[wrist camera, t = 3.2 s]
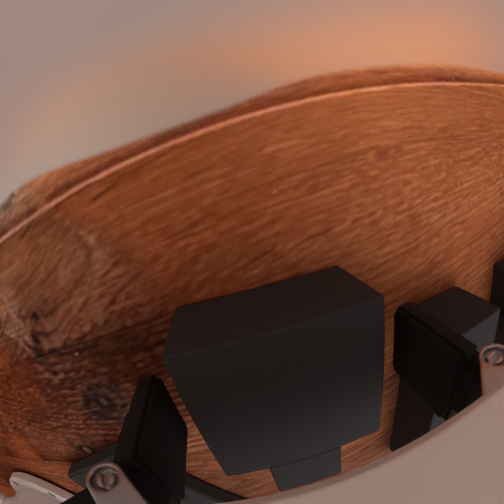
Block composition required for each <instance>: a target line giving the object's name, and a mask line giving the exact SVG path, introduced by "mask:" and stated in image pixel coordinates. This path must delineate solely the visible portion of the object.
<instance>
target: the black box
mask: <svg viewBox="0 0 504 504" xmlns="http://www.w3.org/2000/svg"><path fill="white" fill-rule="evenodd" d="M417 306H418V307H420V308H421V309H423V310H425V311H426V312H428V313H429V314H431V315H432V316H434V317H435V318H437V319H438V320H440V321H441V322H443V323H444V324H446V325H447V326H449V327H450V328H452V329H453V330H455V331H456V332H458V333H459V334H461V335H462V336H464V337H465V338H467V339H468V340H470V341H471V342H472V343H474V344H475V345H477V349H476V350H477V351H478V352H480V350H481V349H482V348H483V347H484V346H486V345H488V344H493V343H494V344H501V345H504V259H503V260H502V261H500V262H498V263H497V264H495V266H494V279H493V289H492V297H491V303H490V302H488V301H486V300H484V299H482V298H480V297H477V296H475V295H473V294H471V293H469V292H467V291H465V290H463V289H461V288H459V287H457V286H455V287H453V288H451V289H449V290H447V291H445V292H443V293H441V294H439V295H437V296H435V297H433V298H431V299H429V300H427V301H424V302H422V303H420V304H418V305H417ZM444 422H445V420H444V419H443V417H441V418H440V417H438V416H437V415H436V414H435V413H434V412H433V411H432V410H431V409H430V408H429V406H428V405H427V404H426V403H425V402H424V401H423V400H422V399H421V398H420V397H419V396H418V394H417V393H416V392H415V391H414V390H413V389H412V388H411V387H410V386H409V385H408V384H407V383H406V381H405V380H404V379H403V378H402V377H400V386H399V394H398V402H397V409H396V415H395V421H394V427H393V432H392V437H391V442H390V449H391V450H392V452H393V451H395V450H397V449H399V448H401V447H403V446H405V445H407V444H409V443H411V442H412V441H414V440H416V439H418V438H419V437H421V436H423V435H425V434H426V433H428V432H430V431H431V430H433V429H435V428H436V427H438V426H439V425H441V424H442V423H444Z"/></svg>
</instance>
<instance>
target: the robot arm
mask: <svg viewBox="0 0 504 504" xmlns="http://www.w3.org/2000/svg"><path fill="white" fill-rule="evenodd" d="M476 349H477V345H475V344H474V343H472V342H471V341H470V340H468V339H467V338H465V337H464V336H462V335H461V334H459V333H458V332H456V331H455V330H453V329H452V328H450V327H449V326H447V325H446V324H444V323H443V322H441V321H440V320H438V319H437V318H435V317H434V316H432V315H431V314H429V313H428V312H426V311H425V310H423V309H421V308H420V307H418V306H417V305H415V304H414V303H412V302H409V303H406V304H404V305H402V306H399V307H398V309H397V311H396V312H395V315H394V353H393V366H394V369H395V371H396V372H397V373H398V374H399V375H400V376H401V377H402V378H403V379H404V380H405V381H406V383H407V384H408V385H409V386H410V387H411V388H412V389H413V390H414V391H415V392H416V393H417V394H418V396H419V397H420V398H421V399H422V400H423V401H424V402H425V403H426V404H427V405H428V406H429V408H430V409H431V410H432V411H433V412H434V413H435V414H436V415H437V416H438V417H440V418H441V417H443V419H444V420H445V422H444V423H442V424H441V425H439V426H438V427H436V428H435V429H433V430H431V431H430V432H428V433H426V434H425V435H423V436H421V437H419V438H418V439H416V440H414V441H412V442H411V443H409V444H407V445H405V446H403V447H401V448H399V449H397V450H395V451H393V452H391V453H389V454H387V455H385V456H383V457H381V458H379V459H376V460H374V461H372V462H370V463H367V464H365V465H363V466H360V467H358V468H356V469H353V470H350V471H348V472H345V473H343V474H340V475H337V476H334V477H332V478H329V479H326V480H323V481H320V482H316V483H313V484H310V485H306V486H303V487H299V488H296V489H292V490H288V491H284V492H280V493H276V494H271V495H267V496H262V497H256V498H251V499H245V500H239V501H232V502H224V503H216V504H504V345H501V344H494V343H493V344H488V345H486V346H484V347H483V348H482V349H481V350H480V352H478V351H477V350H476ZM187 434H188V430H187V426H186V424H185V422H184V420H183V418H182V417H181V415H180V413H179V411H178V409H177V408H176V406H175V404H174V402H173V400H172V398H171V397H170V395H169V393H168V391H167V389H166V387H165V385H164V383H163V381H162V380H161V379H160V378H157V377H156V376H154V375H152V376H145V377H140V379H139V381H138V384H137V387H136V390H135V393H134V396H133V399H132V402H131V406H130V409H129V412H127V414H126V417H125V420H124V423H123V427H122V430H121V433H120V437H119V440H118V444H117V447H116V451H115V454H114V458H113V461H112V462H102V463H99V464H97V465H95V466H94V467H92V468H91V469H90V470H89V472H88V473H87V476H86V485H87V488H86V489H84V490H82V491H81V492H79V493H77V494H76V495H73V494H71V493H69V492H68V491H65V490H63V489H61V488H59V487H57V486H55V485H53V484H51V483H49V482H47V481H44V480H42V479H40V478H37V477H35V476H32V475H29V474H26V473H22V472H13V473H12V475H11V477H10V479H9V481H10V484H11V486H12V487H13V489H14V490H15V491H16V492H17V493H16V495H15V497H10V496H8V495H6V494H4V493H1V492H0V504H181V500H183V499H184V498H185V477H186V453H187Z"/></svg>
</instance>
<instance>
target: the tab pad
mask: <svg viewBox="0 0 504 504" xmlns="http://www.w3.org/2000/svg"><path fill="white" fill-rule="evenodd" d="M384 344H385V325H384V297H383V295H382V294H380V293H379V292H377V291H376V290H374V289H373V288H371V287H370V286H368V285H367V284H365V283H364V282H362V281H361V280H359V279H357V278H356V277H354V276H353V275H351V274H350V273H348V272H347V271H345V270H343V269H342V268H340V267H339V266H334V267H330V268H327V269H323V270H320V271H316V272H313V273H309V274H306V275H302V276H299V277H295V278H291V279H288V280H284V281H281V282H277V283H273V284H269V285H266V286H262V287H258V288H254V289H251V290H247V291H243V292H239V293H235V294H231V295H227V296H223V297H219V298H215V299H211V300H207V301H203V302H199V303H195V304H191V305H187V306H182V307H178V308H176V310H175V313H174V316H173V320H172V323H171V327H170V331H169V334H168V338H167V341H166V345H165V349H164V353H163V356H162V359H163V361H164V363H165V365H166V367H167V369H168V372H169V374H170V376H171V378H172V380H173V382H174V384H175V386H176V388H177V390H178V392H179V394H180V396H181V398H182V400H183V402H184V404H185V406H186V408H187V410H188V411H189V413H190V415H191V417H192V419H193V421H194V422H195V424H196V426H197V428H198V430H199V431H200V433H201V435H202V437H203V438H204V440H205V442H206V443H207V445H208V447H209V448H210V450H211V452H212V453H213V455H214V456H215V458H216V460H217V461H218V463H219V464H220V466H221V467H222V469H223V471H224V472H225V474H226V475H227V476H231V475H237V474H243V473H248V472H253V471H258V470H262V469H267V468H270V471H271V473H272V475H273V478H274V480H275V482H276V484H277V487H278V489H279V491H283V490H287V489H291V488H295V487H298V486H302V485H305V484H309V483H312V482H315V481H318V480H321V479H324V478H327V477H330V476H333V475H336V474H338V473H340V472H341V446H342V445H345V444H347V443H350V442H352V441H355V440H357V439H360V438H362V437H364V436H366V435H369V434H371V433H373V432H375V431H378V430H379V424H380V415H381V404H382V392H383V376H384Z"/></svg>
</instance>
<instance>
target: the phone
mask: <svg viewBox="0 0 504 504" xmlns="http://www.w3.org/2000/svg"><path fill="white" fill-rule="evenodd" d="M117 444H118V442H117V443H115V444H113V445H111V446H109V447H107V448H105V449H103V450H101V451H99V452H97V453H95V454H93V455H91V456H89V457H87V458H85V459H83V460H81V461H79V462H77V463H75V464H72V465H71V467H70V470H69V473H68V477H69V478H71V479H72V480H73V481H74V482H76V483H77V484H79V485H81V486H82V487H84V488H87V485H86V476H87V473H88V472H89V470H90V469H91V468H92V467H94V466H95V465H97V464H99V463H102V462H112V461H113V458H114V454H115V451H116V447H117ZM239 500H245V499H244V498H241V497H238V496H236V495H233V494H230V493H228V492H225V491H223V490H221V489H218V488H216V487H213V486H211V485H209V484H207V483H204V482H202V481H200V480H198V479H196V478H194V477H192V476H190V475H188V474H186V477H185V498H184V499H183V500H181V504H216V503H224V502H232V501H239Z"/></svg>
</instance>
